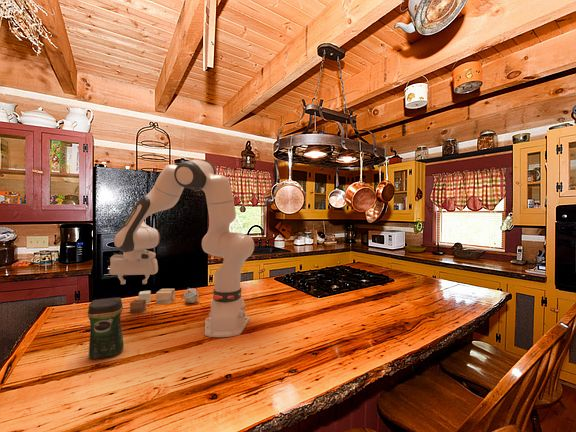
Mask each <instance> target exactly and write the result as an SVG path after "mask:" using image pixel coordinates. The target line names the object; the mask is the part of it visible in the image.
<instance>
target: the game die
mask: <svg viewBox="0 0 576 432" xmlns="http://www.w3.org/2000/svg"><path fill="white" fill-rule="evenodd" d="M181 296H183V298H184V299H183V300H184V303H185V304H188V303H189V304H193V305H196V301H197V300H198V299H199V297H200V293H199V291H198V287H196V288H192V287H191V288H190V287H188V286H187V290H185V292H184V293H183V294H181Z"/></svg>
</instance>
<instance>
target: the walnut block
mask: <svg viewBox="0 0 576 432" xmlns="http://www.w3.org/2000/svg"><path fill="white" fill-rule="evenodd" d="M146 310H147V303H146V299H141V300H139V299H134V300H132V301H131V302H130V303H129V314H142V313H144V312H145V311H146Z"/></svg>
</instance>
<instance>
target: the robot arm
mask: <svg viewBox="0 0 576 432" xmlns="http://www.w3.org/2000/svg"><path fill="white" fill-rule="evenodd" d="M230 183H231V182H230V181H229V178H228V177H227V176H225V175H223V174H217V170H216V167H215V166H214V164H212V163H211V162H210V161H207V160H203V159H202V160H200V159H199V160H198V159H192V160H185V161H183V162H180V163H179V164H178V165H177V164H167V165H165V166H164V167H163V169H162V170H161V171H160V173H159V175H158V177H157V178H156V180H155V183H154V185H153V187H152V188H151V189H150V191H149V192H148V193H147V194H146V195H144V196H143V197H141V198H140V199H139V200H138V202H136V204H135V206H134V207H133V208H132V211H131V212H130V213H129V215H128V216H127V218H126V220H125V222H124V223H123V225H122V226H121V227H120V228H119V229H118V230H117V232H115V234H114V236H113V245H114V246H115V248H116V249H117V250H119V251H120V252H122V254H113V255H112V256H111V257H109V263H110V265H109V271H108V273H109V274H110V275H111V276H117V278H118V279H119V281H120V285H125V284H126V281H127V280H126V279H124V277H123V276H128V275H131V276H134V275H135V276H137V275H138V276H139V275H144V277H145V278H144V279H142V282H141V283H142V285H146V284H147V283H148V279H149V277H151V276H150V275H155V274H157V273H158V271H159V265H158V260H157V258H156V255H157V254H156V252H153V251H150V250H149V249H154V248H156V247H158V246H159V244H160V242H161V234H160V231H159V230H158V229H157V228H155V227H151V226H150V225H147V224H146V222H145V220H146V219H147V218H148V217H149V216H151V215H153V214H155V213H159V212H163V211H167V210H170V209H172V208H173V207H174V206H176V204H177V203H178V202H179V200H180V197H181V195H182V193H183V191H184V189H190V190H195V191H201V190H202V191H203V192H204V194H205V200H206V205H207V212H208V218H209V223H208V224H209V225H208V230H207V232H206V234H205V235H204V236H203V238H202V239H201V248H202V250H203V252H204V253H206V254H208V255H211V256H213V257H220V258H223V261H222V264H221V266H219V267H218V268H217V269H215V272H214V289H213V292H212V296H213V297H212V300H211V301H210V312H209V313H208V317H206V318H205V322H204V324H205V325H204V336H205V337H210V338H229V337H230V338H231V337H235V336H240V335H241V334H242V332H243V331H244V329H245V327H246V326H247V324H248V323H249V321H250V317H249V316H246V308H245V307H246V304H245V300H244V299H243V298H242V291H243V290H242V287H241V279H242V278H241V275H242V268H243V265H244V264H245V262H246V260H247V259H248V258H250V257H251V256H252V254H253V253H254V251H255V242H254V239H253V237H252V236H251V235H248V234H245V233H241V232H233V231H231V232H230V225H231V224H232V223H233V222H234V221H235V219H236V218H237V214H236V206H235V200H234V195H233V189H232V186H231V184H230Z"/></svg>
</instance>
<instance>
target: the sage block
mask: <svg viewBox="0 0 576 432" xmlns="http://www.w3.org/2000/svg"><path fill="white" fill-rule="evenodd" d="M141 299H146V304H148V303H151V300H152V291H151V290H143V291H139V292H138V300H141Z"/></svg>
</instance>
